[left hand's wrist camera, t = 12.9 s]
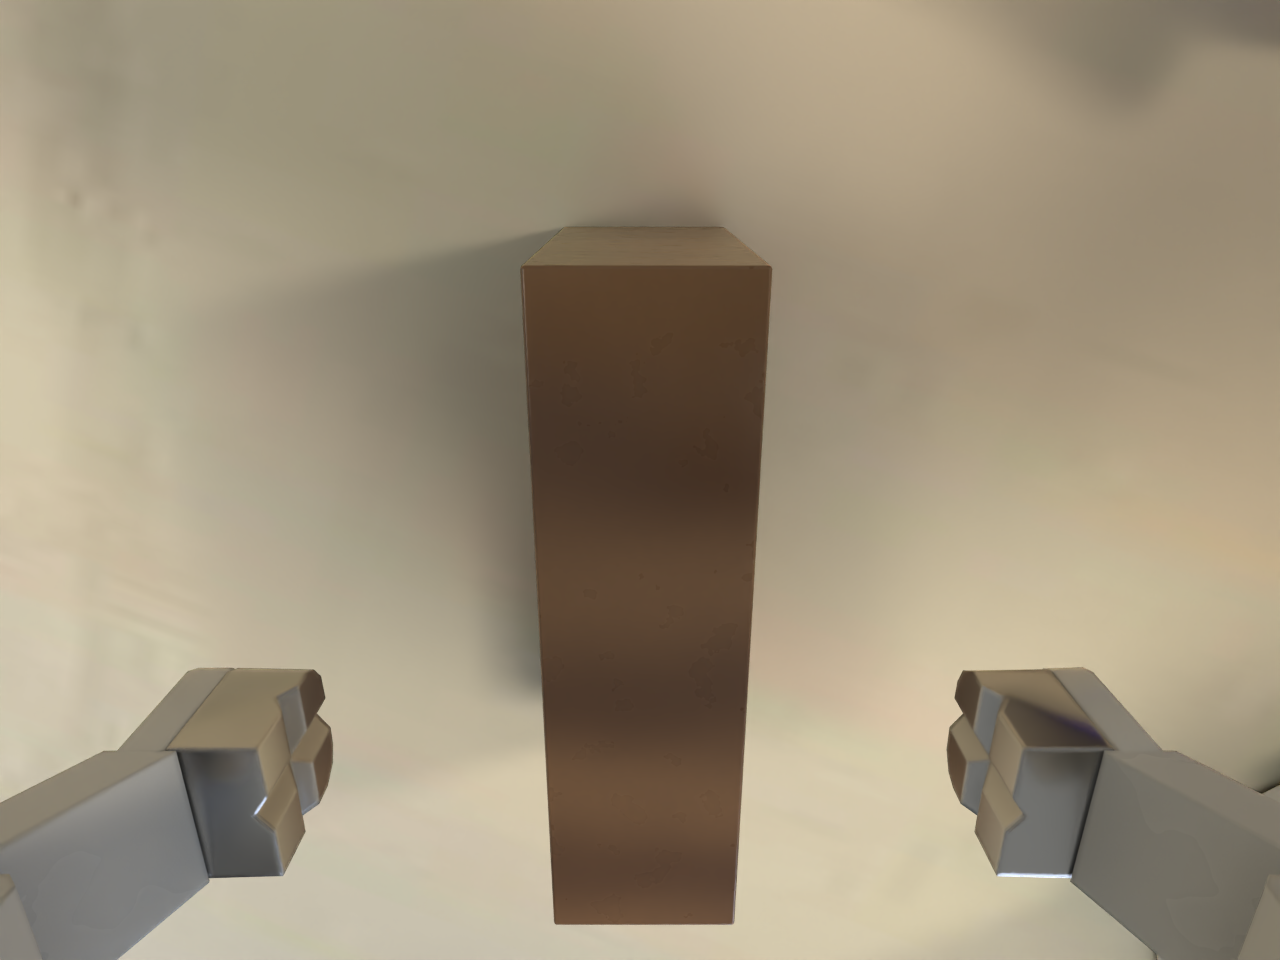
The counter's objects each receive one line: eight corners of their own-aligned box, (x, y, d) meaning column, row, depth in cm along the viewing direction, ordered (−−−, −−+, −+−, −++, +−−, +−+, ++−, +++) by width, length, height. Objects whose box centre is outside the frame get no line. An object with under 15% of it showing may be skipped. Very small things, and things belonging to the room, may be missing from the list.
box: (563, 226, 30) (519, 265, 19) (725, 226, 30) (772, 265, 19) (578, 705, 37) (554, 926, 27) (707, 705, 37) (734, 925, 27)
